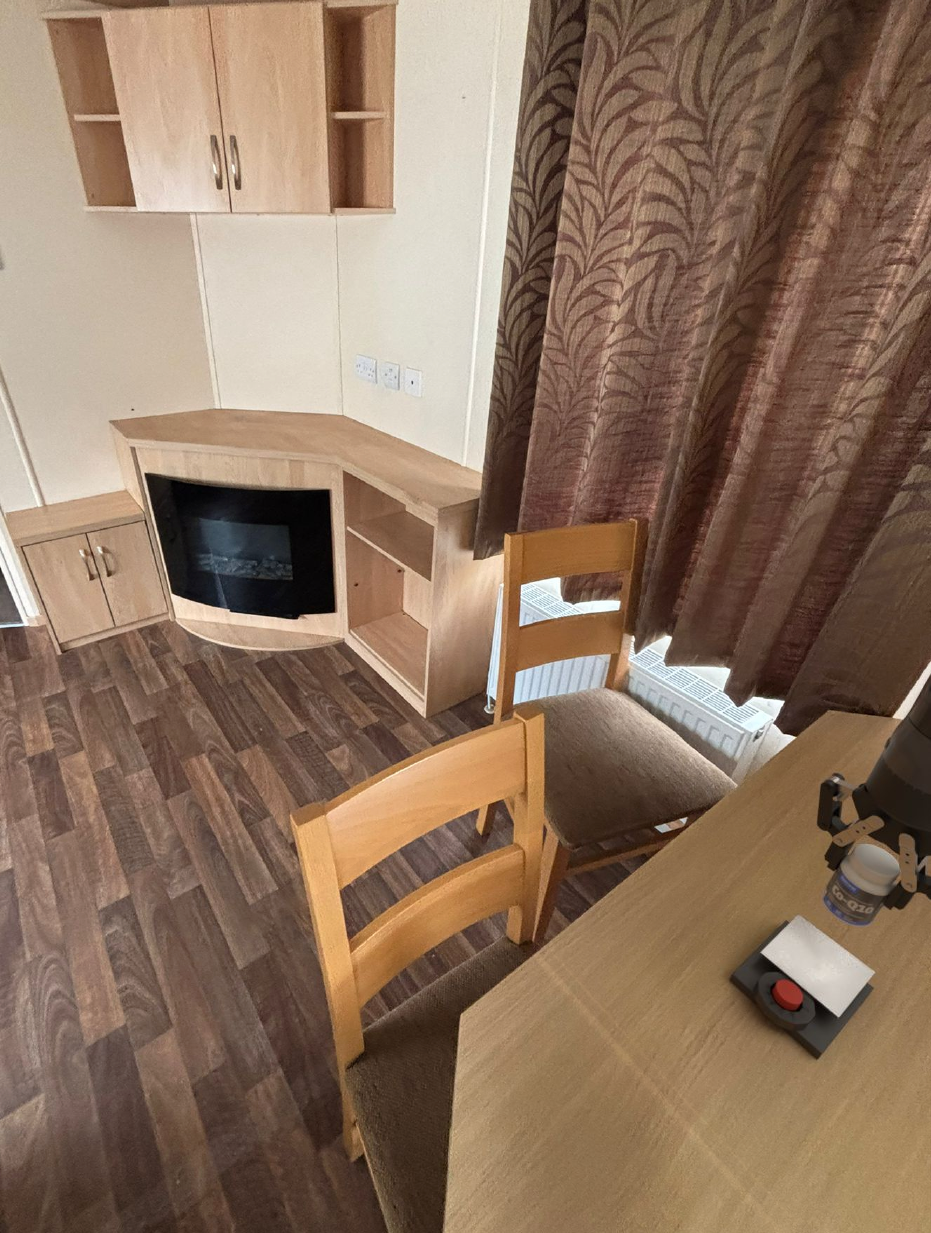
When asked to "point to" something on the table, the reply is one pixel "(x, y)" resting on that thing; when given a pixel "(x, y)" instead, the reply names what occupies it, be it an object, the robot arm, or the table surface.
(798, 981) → the pan
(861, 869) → the pill bottle
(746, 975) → the scale
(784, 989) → the tare button
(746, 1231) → the table surface
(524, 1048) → the table surface
